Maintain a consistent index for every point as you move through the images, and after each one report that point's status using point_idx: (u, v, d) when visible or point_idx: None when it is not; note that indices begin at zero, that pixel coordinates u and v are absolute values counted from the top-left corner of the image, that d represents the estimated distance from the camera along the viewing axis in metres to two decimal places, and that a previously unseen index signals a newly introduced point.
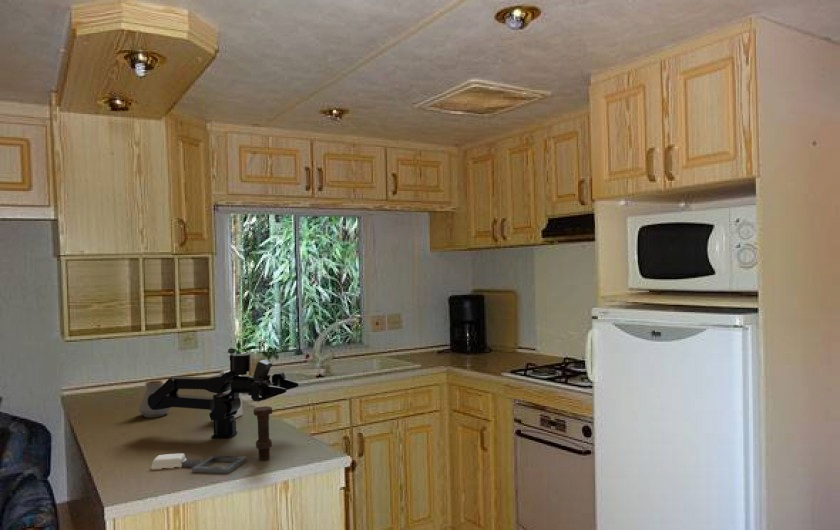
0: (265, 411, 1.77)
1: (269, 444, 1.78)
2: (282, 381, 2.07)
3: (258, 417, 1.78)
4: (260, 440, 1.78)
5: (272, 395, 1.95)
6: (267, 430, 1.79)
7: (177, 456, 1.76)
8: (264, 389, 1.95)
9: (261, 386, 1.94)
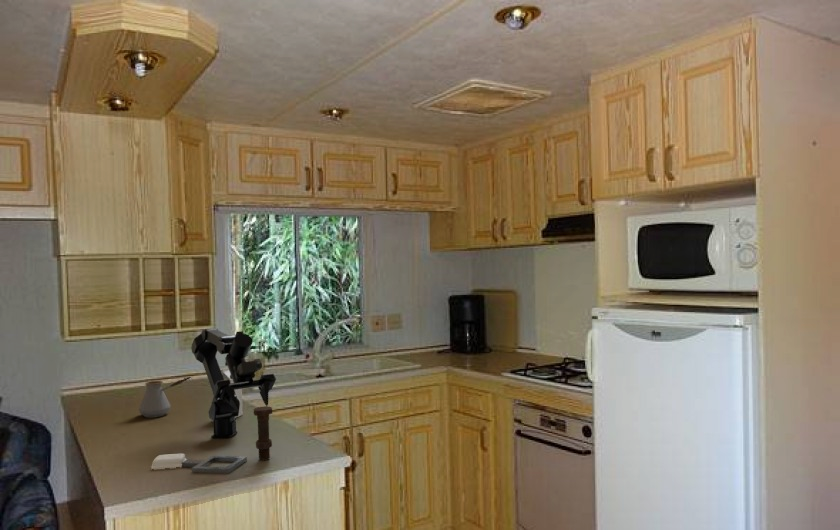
0: (265, 411, 1.77)
1: (269, 444, 1.78)
2: (263, 387, 1.92)
3: (258, 417, 1.78)
4: (260, 440, 1.78)
5: (228, 402, 1.85)
6: (267, 430, 1.79)
7: (177, 456, 1.76)
8: (225, 393, 1.85)
9: (222, 390, 1.84)
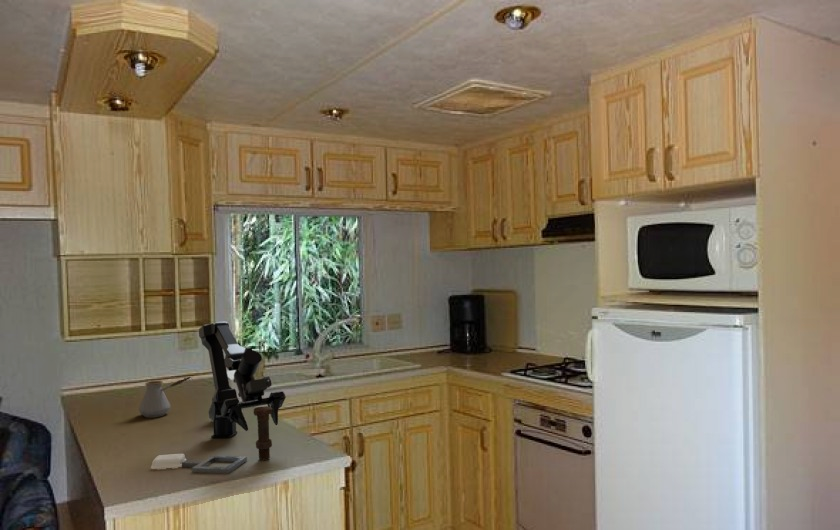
0: (265, 411, 1.77)
1: (269, 444, 1.78)
2: (272, 406, 1.86)
3: (258, 417, 1.78)
4: (260, 440, 1.78)
5: (237, 422, 1.80)
6: (267, 430, 1.79)
7: (177, 456, 1.76)
8: (233, 412, 1.79)
9: (230, 409, 1.78)
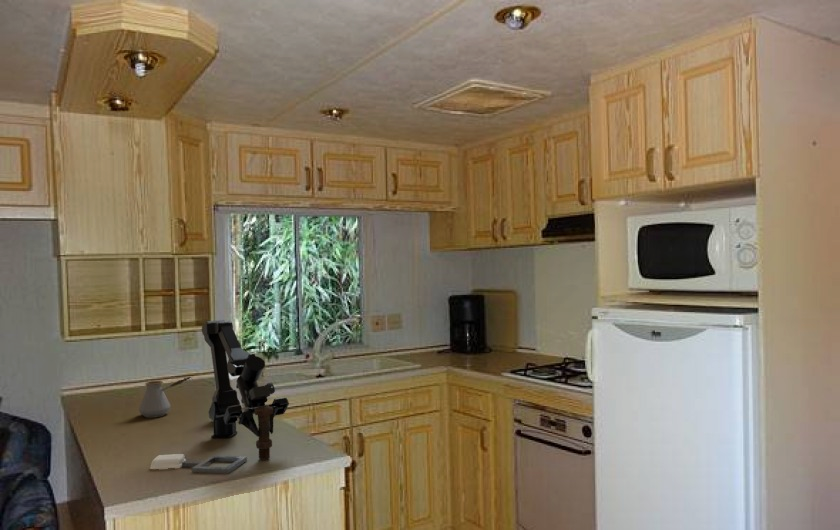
0: (266, 411, 1.77)
1: (269, 444, 1.78)
2: None
3: (259, 417, 1.78)
4: (260, 440, 1.78)
5: (248, 427, 1.79)
6: (267, 430, 1.79)
7: (176, 457, 1.76)
8: (244, 417, 1.79)
9: (241, 414, 1.78)
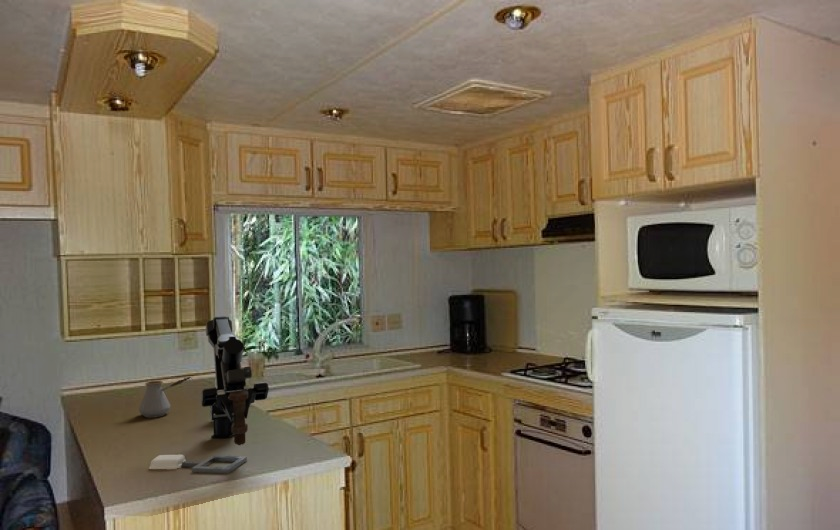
0: (239, 396, 1.73)
1: (244, 429, 1.75)
2: None
3: (233, 401, 1.75)
4: (235, 425, 1.75)
5: (224, 411, 1.77)
6: (242, 415, 1.75)
7: (175, 457, 1.75)
8: (220, 400, 1.76)
9: (216, 397, 1.76)
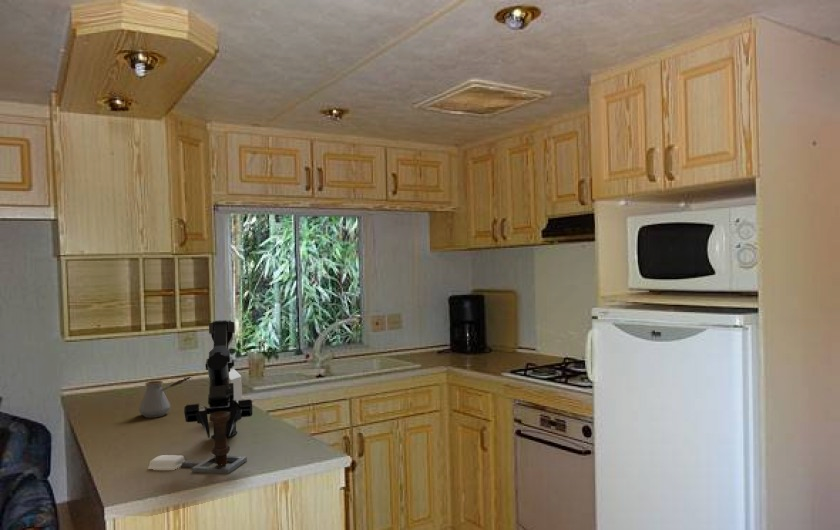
0: (218, 418, 1.71)
1: (223, 451, 1.73)
2: (230, 415, 1.77)
3: (214, 423, 1.73)
4: (215, 446, 1.73)
5: (204, 427, 1.75)
6: (222, 437, 1.73)
7: (173, 458, 1.74)
8: (200, 417, 1.75)
9: (196, 413, 1.74)
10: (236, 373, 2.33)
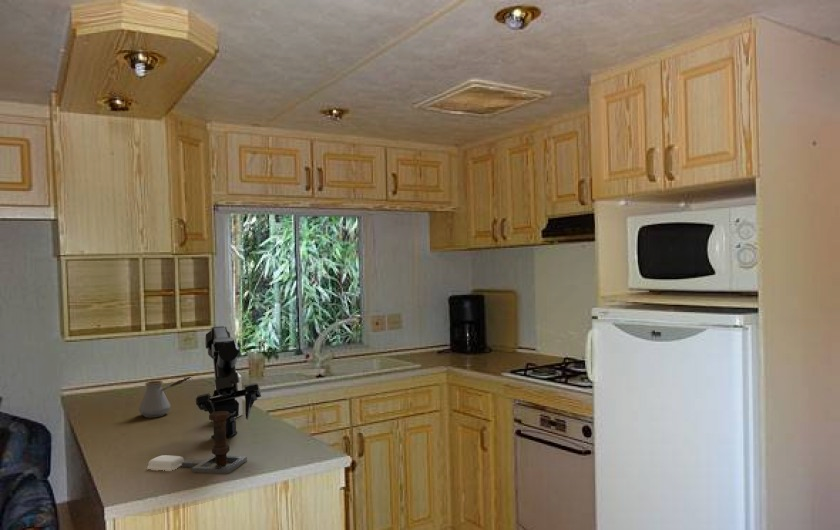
0: (217, 416, 1.73)
1: (223, 450, 1.73)
2: None
3: (213, 420, 1.74)
4: (215, 445, 1.74)
5: None
6: (222, 436, 1.74)
7: (171, 459, 1.74)
8: None
9: None
10: None
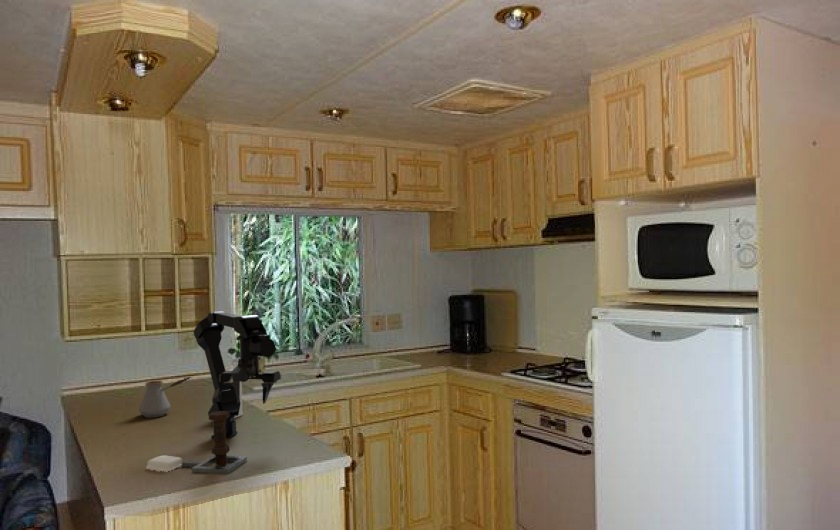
0: (217, 416, 1.72)
1: (223, 450, 1.73)
2: None
3: (213, 422, 1.74)
4: (215, 445, 1.74)
5: None
6: (222, 436, 1.74)
7: (168, 460, 1.73)
8: None
9: None
10: None
